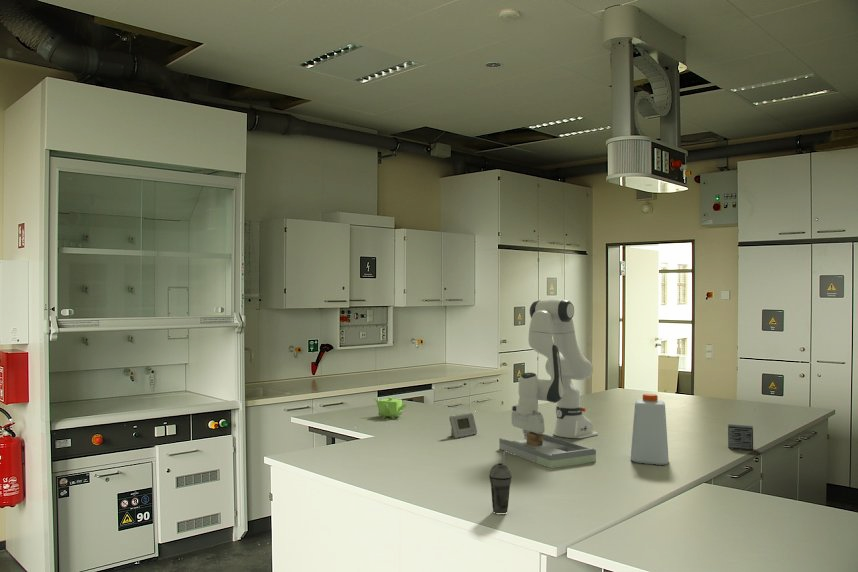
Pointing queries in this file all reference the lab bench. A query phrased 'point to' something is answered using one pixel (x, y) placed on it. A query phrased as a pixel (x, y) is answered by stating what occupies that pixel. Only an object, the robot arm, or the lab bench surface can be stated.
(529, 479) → the lab bench surface
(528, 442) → the walnut block
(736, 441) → the small box
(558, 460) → the box
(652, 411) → the plastic bottle
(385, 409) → the kettle
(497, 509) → the beverage cup
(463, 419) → the digital clock
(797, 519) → the lab bench surface
